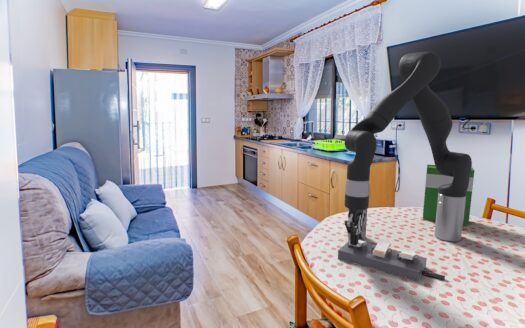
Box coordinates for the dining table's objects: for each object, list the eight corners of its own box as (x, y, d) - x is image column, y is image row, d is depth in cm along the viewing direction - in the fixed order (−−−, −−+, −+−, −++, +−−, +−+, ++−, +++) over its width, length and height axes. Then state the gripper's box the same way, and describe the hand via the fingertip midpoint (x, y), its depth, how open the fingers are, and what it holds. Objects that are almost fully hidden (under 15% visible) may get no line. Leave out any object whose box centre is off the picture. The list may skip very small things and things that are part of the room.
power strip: (350, 247, 120) (350, 234, 119) (447, 272, 102) (448, 257, 102) (337, 258, 112) (338, 244, 111) (441, 288, 94) (443, 271, 93)
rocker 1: (355, 242, 116) (356, 238, 116) (365, 244, 114) (366, 241, 114) (348, 244, 111) (348, 240, 111) (359, 246, 109) (359, 243, 109)
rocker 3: (404, 254, 107) (404, 250, 107) (416, 257, 105) (416, 253, 105) (398, 256, 101) (399, 253, 101) (411, 259, 99) (412, 256, 99)
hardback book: (422, 219, 150) (427, 167, 146) (422, 214, 157) (427, 164, 153) (468, 225, 143) (474, 170, 138) (466, 220, 149) (472, 167, 145)
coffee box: (347, 234, 133) (348, 195, 130) (363, 235, 132) (365, 196, 129) (348, 243, 124) (350, 201, 121) (366, 244, 123) (368, 202, 120)
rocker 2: (379, 242, 112) (379, 240, 111) (390, 245, 110) (390, 242, 109) (372, 254, 107) (372, 251, 106) (384, 257, 104) (384, 254, 104)
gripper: (361, 199, 99) (357, 254, 102) (375, 190, 110) (371, 240, 113) (337, 195, 104) (335, 248, 107) (353, 187, 114) (350, 235, 117)
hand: (354, 244), depth 110 cm, fingers closed
